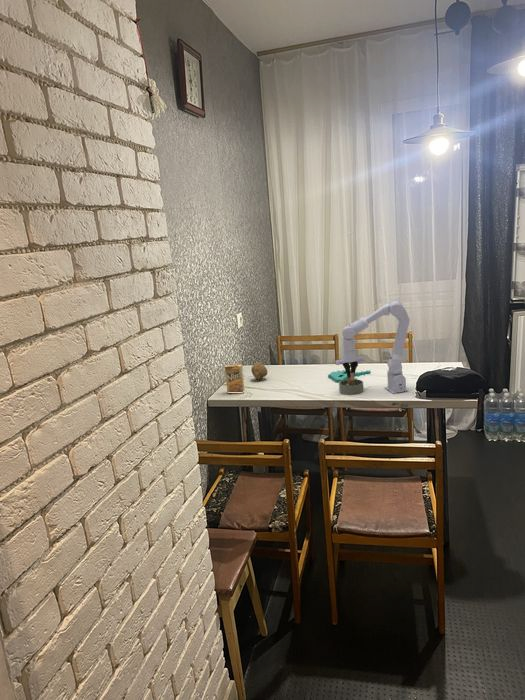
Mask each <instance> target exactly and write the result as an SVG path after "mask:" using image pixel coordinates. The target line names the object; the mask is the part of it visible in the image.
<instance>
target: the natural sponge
mask: <svg viewBox="0 0 525 700" xmlns="http://www.w3.org/2000/svg"><path fill="white" fill-rule="evenodd" d="M251 373H252V375H253V378H254V379H256V380H257V379H261V380H263V379H264V378H265V377H266V376H267V375H268V368H267V367H266V366H265V364H263V363H261V362H258V363H254V364H253V365H252V366H251Z"/></svg>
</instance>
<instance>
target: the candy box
mask: <svg viewBox="0 0 525 700" xmlns="http://www.w3.org/2000/svg"><path fill="white" fill-rule="evenodd" d="M224 373H225V382H226V384H225V385H226V390H227V391H226V393H227V392H243V391H244V390H245V381H244V369H243V364H242V363H240V364H239V363H238V364H226V365H225V366H224Z"/></svg>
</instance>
